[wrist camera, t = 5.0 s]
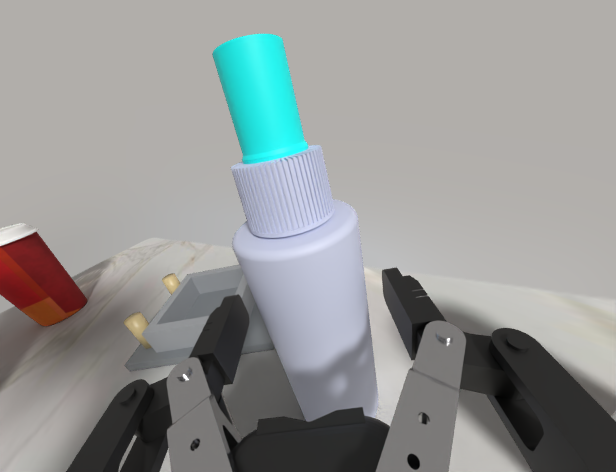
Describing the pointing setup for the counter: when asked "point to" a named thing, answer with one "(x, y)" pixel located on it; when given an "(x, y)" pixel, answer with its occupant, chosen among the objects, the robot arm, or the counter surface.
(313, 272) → the spray bottle
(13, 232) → the coffee cup
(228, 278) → the dock
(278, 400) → the counter surface
